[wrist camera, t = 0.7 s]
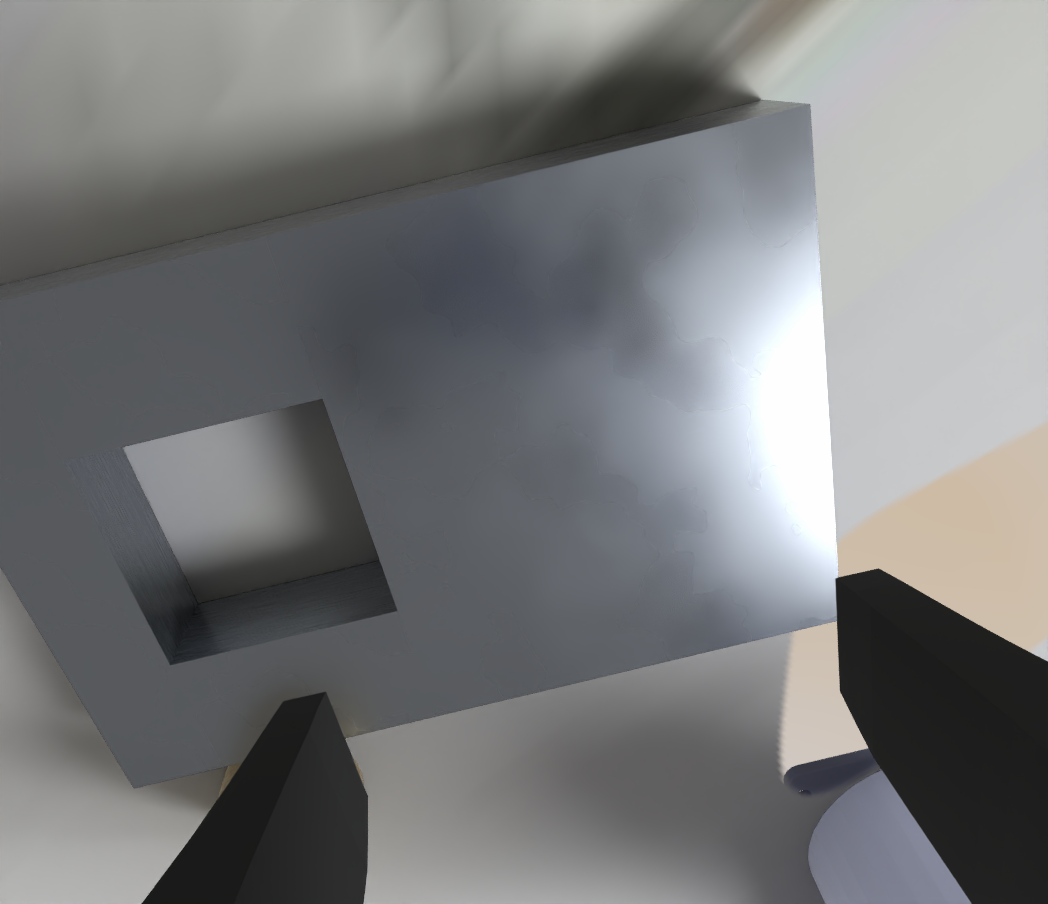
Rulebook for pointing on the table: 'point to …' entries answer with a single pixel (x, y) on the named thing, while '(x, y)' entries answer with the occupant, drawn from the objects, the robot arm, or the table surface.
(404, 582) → the plate
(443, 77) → the table surface
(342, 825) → the robot arm
